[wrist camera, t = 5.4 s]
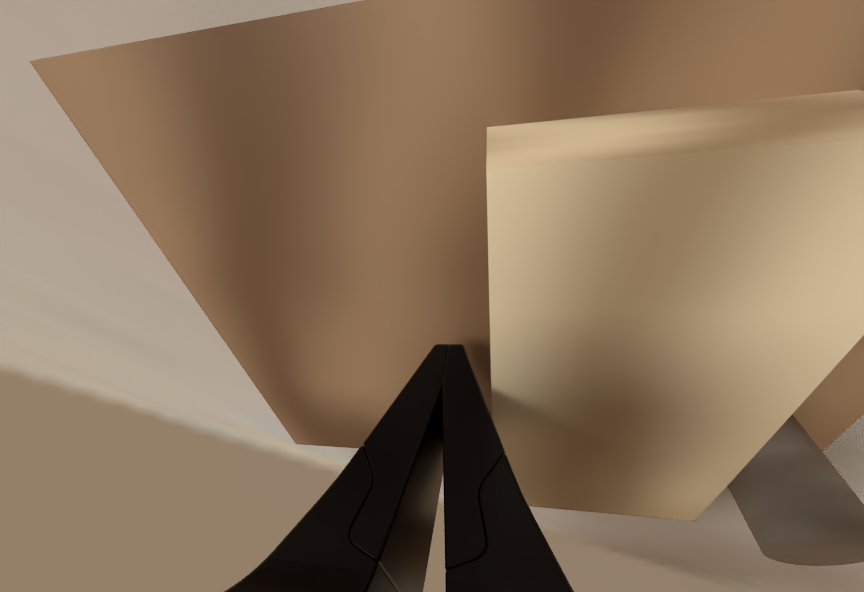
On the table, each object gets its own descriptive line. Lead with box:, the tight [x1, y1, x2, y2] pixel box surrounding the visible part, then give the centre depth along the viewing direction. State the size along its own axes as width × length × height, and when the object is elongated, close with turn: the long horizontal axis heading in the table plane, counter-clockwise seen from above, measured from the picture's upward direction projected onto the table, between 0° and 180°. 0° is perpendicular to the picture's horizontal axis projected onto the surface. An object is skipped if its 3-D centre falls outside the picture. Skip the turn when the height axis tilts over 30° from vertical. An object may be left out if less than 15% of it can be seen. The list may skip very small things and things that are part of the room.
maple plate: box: [486, 90, 864, 521], centre depth 8 cm, size 6×11×2 cm, turn 7°
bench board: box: [30, 0, 864, 566], centre depth 9 cm, size 20×15×5 cm
